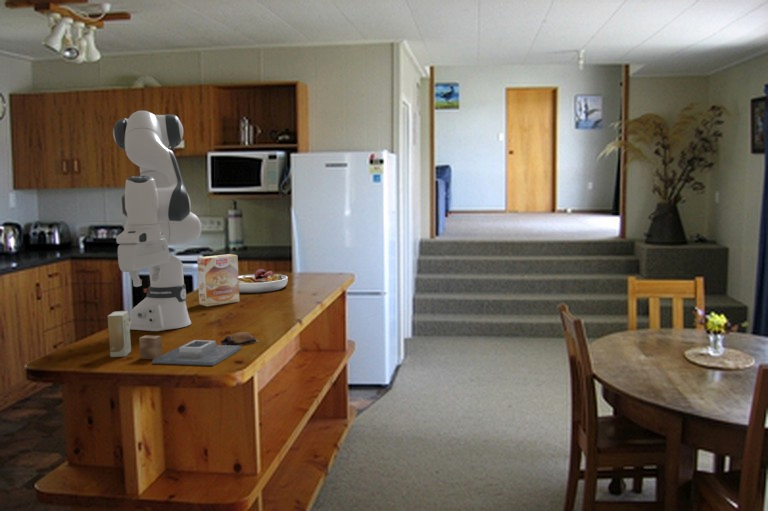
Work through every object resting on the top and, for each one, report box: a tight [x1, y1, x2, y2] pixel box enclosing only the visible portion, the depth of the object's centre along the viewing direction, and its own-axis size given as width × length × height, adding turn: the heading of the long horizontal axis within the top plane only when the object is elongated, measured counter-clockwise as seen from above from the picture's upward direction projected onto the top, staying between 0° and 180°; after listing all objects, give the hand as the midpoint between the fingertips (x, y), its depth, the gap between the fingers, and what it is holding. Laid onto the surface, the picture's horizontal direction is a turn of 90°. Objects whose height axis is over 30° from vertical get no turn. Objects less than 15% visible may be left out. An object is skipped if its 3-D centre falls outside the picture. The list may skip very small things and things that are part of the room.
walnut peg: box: [138, 335, 163, 360], centre depth 190 cm, size 5×3×6 cm, turn 78°
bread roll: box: [220, 331, 260, 346], centre depth 206 cm, size 11×8×4 cm
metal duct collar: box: [152, 339, 242, 367], centre depth 191 cm, size 18×18×4 cm
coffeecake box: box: [196, 253, 240, 307], centre depth 274 cm, size 15×7×20 cm, turn 131°
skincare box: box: [107, 310, 132, 358], centre depth 194 cm, size 6×4×12 cm
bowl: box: [238, 268, 289, 294], centre depth 311 cm, size 30×30×8 cm
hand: (147, 283), depth 188 cm, fingers open, 8 cm apart
